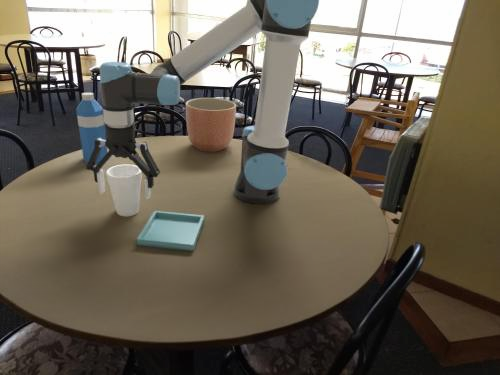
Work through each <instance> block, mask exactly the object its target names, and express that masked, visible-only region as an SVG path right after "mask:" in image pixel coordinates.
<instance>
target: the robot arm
mask: <svg viewBox="0 0 500 375" xmlns="http://www.w3.org/2000/svg"><path fill="white" fill-rule="evenodd" d="M319 5H320V0H246V5H244V7H243V6H242V8H240V9H239V10H238V11H236V12H235V13H233V14H232V15H230V16H229V17H227V18H226V19H225V20H223V21H221V23H219V24H218V25H216V26H214V27H213V28H212V29H210V30H209V31H207V32H206V33H205V34H203V35H201V36H200V37H199V38H197V39H196V40H193V42H191V43H190V44H188V45H187V46H186V47H184V48H183V49H181V50H180V51H178V52H177V53H176V54H174V55H172V56H171V57H170V58H168V59H167V60H166V61H164V62H163V63H161V64H158V65H157V66H156V67H155V68H153V69H152V71H150V73H145V72H143V73H142V72H133V69H132V66H131V65H130V64H129V63H127V62H123V61H122V62H121V61H108V62H103V63H101V64H100V65H99V66H100V67H99V78H100V80H99V84H100V92H101V100H102V101H101V102H102V109H103V118H104V127H105V135H106V140H103V139H102V138H101V137H99V138H98V139H97V140H95V148H94V150H93V152H92V155H91V157H90V159H89V162H88V163H87V164H86V166H85V169H86V170H87V171H92V172H93V177H94V178H93V179H94V182H95V183H97V187H98V188H97V189H98V195H102V194H103V193H105V192H106V181H105V170H104V169H102V168H103V167H104V165H105V164H106V163H107V162H108V161H109V160H110V159H111V157H112V156H114V158H122V159H127V158H128V159H129V160H130V161H132V162H133V163H134V165H135V166H138V168H139V169H140V170H141V171H142V174H143V175H144V176H145V177H144V180H143V181H144V195H145V196H144V197H145V200H149V198H150V197H151V196H152V190H151V189H153V187H154V185H155V182H154V180H155V179H154V178H157V177H159V175H160V173H161V171H160V169H159V167H158V165H157V164H156V161H155V160H154V158H153V156H152V154H151V153H150V150H149V147H148V142H146V141H144V142H142V143H141V142H138V143H137V141H136V129H135V124H134V123H135V115H134V104H147V105H162V106H175V105H178V104H179V102H180V98H181V86H182V85H183V84H185V83H186V82H187V81H189V80H191V78H193V77H195V76H196V75H197V74H198V75H199V73H201V72H202V71H204V70H205V69H207V68H208V67H210V66H211V65H213V64H214V63H215V62H217V61H219V60H221V59H222V58H224V57H225V56H226V55H228V54H229V53H231V52H232V51H234V50H235V49H237V48H238V47H240V46H242V45H243V44H244V43H246V42H247V41H248V40H250V39H252V38H253V37H255V36H257V35H258V34H259V33H262V34H263V36H264V37H265V45H264V52H263V61H262V66H261V67H262V68H261V76H260V81H259V82H260V83H259V89H258V96H257V97H258V99H257V103H256V113H255V119H254V125H249V126H245V127H244V128H243V130H242V135H241V138H242V142H241V158H240V159H241V160H240V172H239V174H238V176H237V179H236V182H235V184H234V187H233V189H234V190H233V192H234V197H236V198H237V199H238V200H241V201H242V202H245V203H247V204H248V203H249V204H253V205H254V204H255V205H264V204H270V203H273V202H275V201H276V200H278V199H279V197H280V185H282V183H284V181H285V180H286V178H287V175H288V163H287V162H286V161H287V156H288V150H289V144H290V143H289V142H290V141H289V139H287V137H286V129H287V125H288V124H287V123H288V118H289V113H290V108H291V101H292V96H293V90H294V85H295V80H296V72H297V66H298V61H299V57H300V56H299V55H300V49H301V45H302V43H303V42H304V41H306V40H307V39H308V38H309V34H310V30H311V23H312V20H313V19H314V17H315V16H316V13H317V11H318V8H319ZM104 145H106V147H107V154H106V155H105V156H104V157H103V158H102V160H101V161H100V162H99V163H96V160H97V158H98V156H99V154H100V151H101V149H102V147H103V146H104ZM137 149H138V152H140V153H141V154H140V155H141V156H140V155H139V153H138V152H137ZM142 157H143V159H142ZM95 163H96V164H95Z"/></svg>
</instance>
